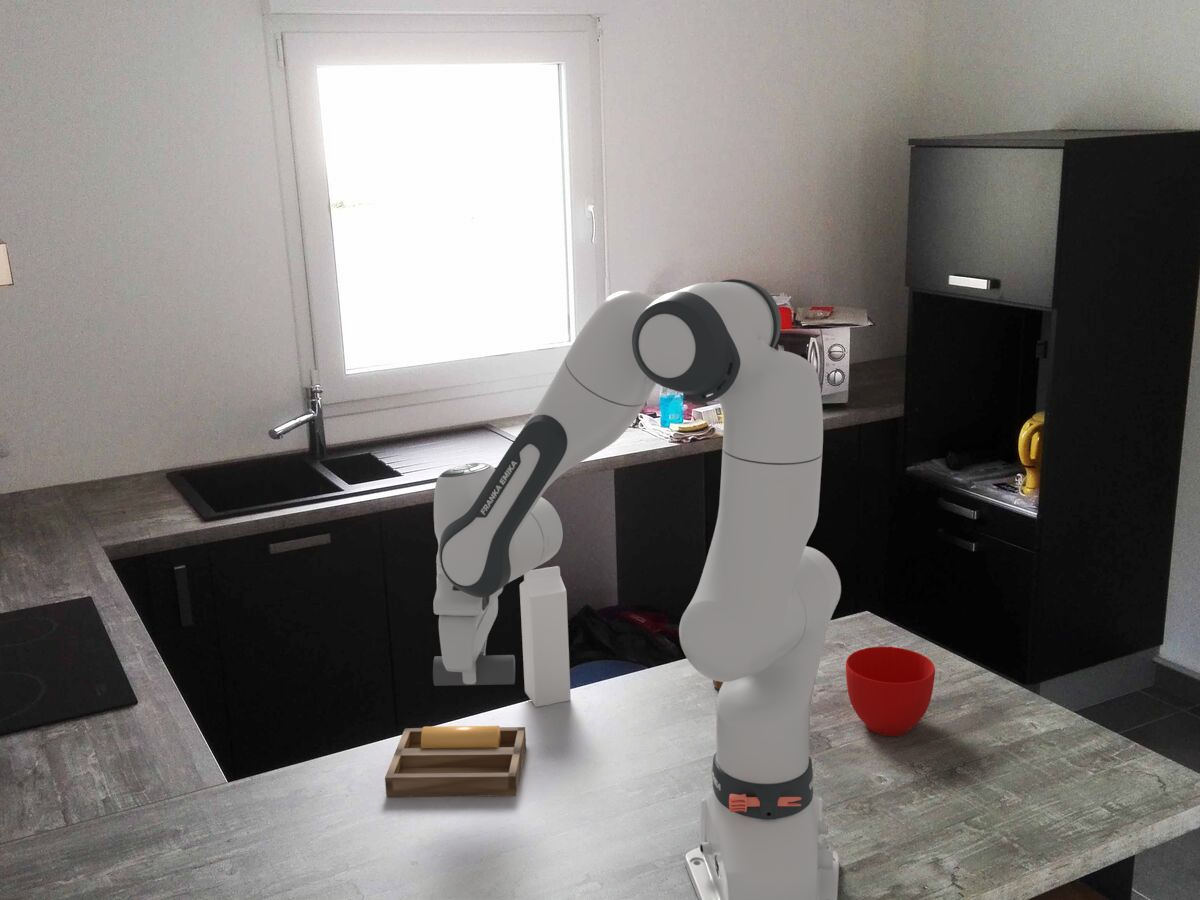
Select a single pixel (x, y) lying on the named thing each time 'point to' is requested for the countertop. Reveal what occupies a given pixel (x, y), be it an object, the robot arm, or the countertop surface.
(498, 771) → the slot rack
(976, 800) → the countertop surface
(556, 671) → the milk
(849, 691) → the ceramic cup
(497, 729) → the orange rod
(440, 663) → the charcoal rod
